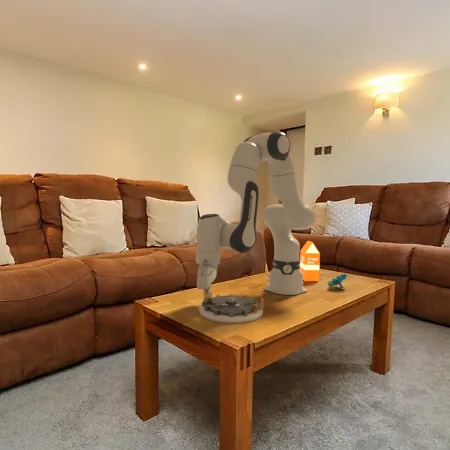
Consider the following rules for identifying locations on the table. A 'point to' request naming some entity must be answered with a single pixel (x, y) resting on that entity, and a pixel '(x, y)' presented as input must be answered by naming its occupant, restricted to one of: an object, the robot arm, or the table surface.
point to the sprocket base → (235, 318)
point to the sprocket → (229, 304)
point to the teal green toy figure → (337, 281)
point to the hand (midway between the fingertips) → (206, 295)
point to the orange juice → (310, 262)
